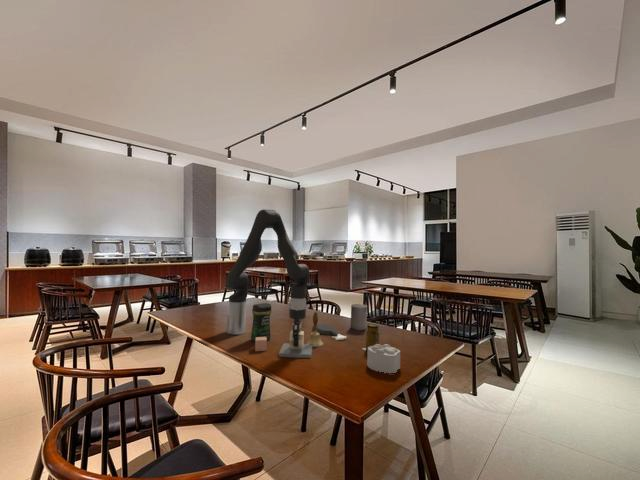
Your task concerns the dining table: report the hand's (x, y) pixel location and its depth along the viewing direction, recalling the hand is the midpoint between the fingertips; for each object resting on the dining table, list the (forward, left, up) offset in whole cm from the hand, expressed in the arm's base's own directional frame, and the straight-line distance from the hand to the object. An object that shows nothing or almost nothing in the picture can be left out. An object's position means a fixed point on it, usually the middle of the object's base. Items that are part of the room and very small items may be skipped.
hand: (296, 343), depth 142 cm
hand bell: (+8, +12, -4) cm, 15 cm away
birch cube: (0, 0, -1) cm, 1 cm away
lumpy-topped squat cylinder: (+37, -14, -4) cm, 40 cm away
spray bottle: (+16, +31, -4) cm, 35 cm away
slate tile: (0, 0, -4) cm, 4 cm away
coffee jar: (-20, +16, -4) cm, 26 cm away
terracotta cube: (-17, +2, -4) cm, 18 cm away
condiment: (+36, +6, -4) cm, 37 cm away
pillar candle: (+33, +46, -4) cm, 57 cm away
